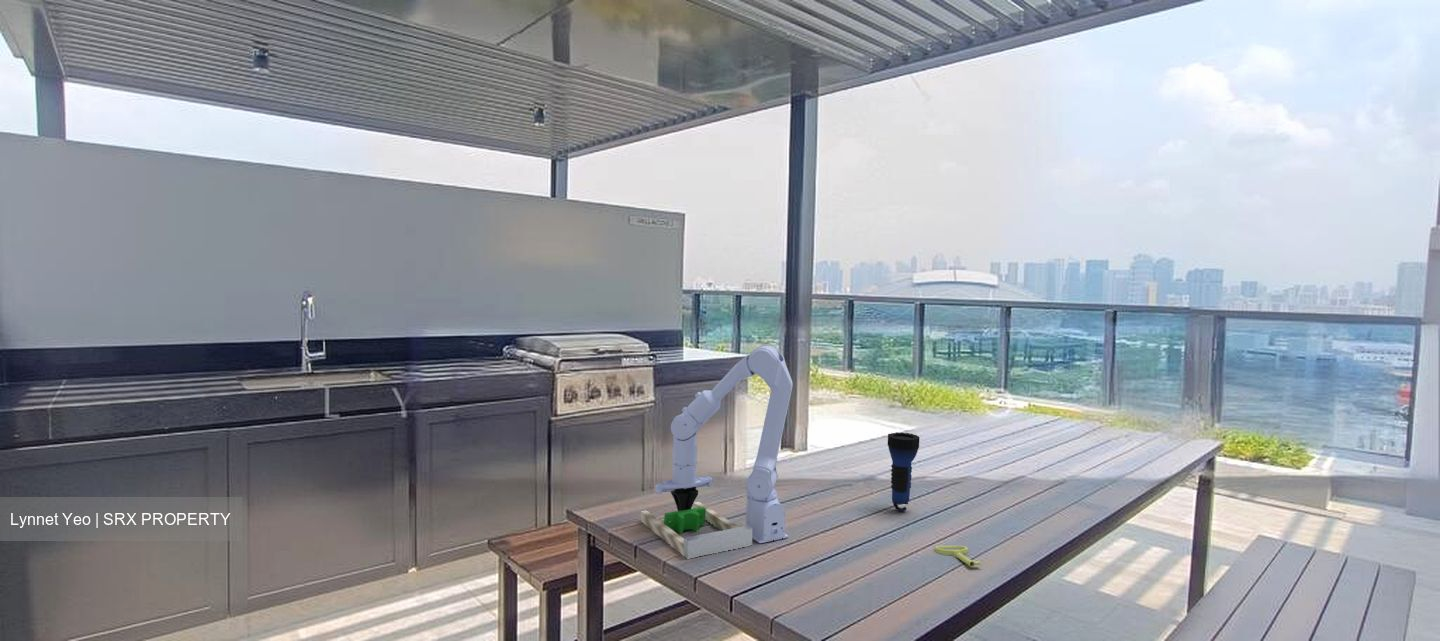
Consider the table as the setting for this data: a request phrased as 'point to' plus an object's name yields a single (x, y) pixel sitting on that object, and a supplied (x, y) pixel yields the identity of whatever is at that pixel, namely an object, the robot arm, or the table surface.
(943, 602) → the table surface
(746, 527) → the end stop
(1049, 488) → the table surface
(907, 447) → the flashlight
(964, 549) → the key
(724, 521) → the guide rails
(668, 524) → the pipe clamp
